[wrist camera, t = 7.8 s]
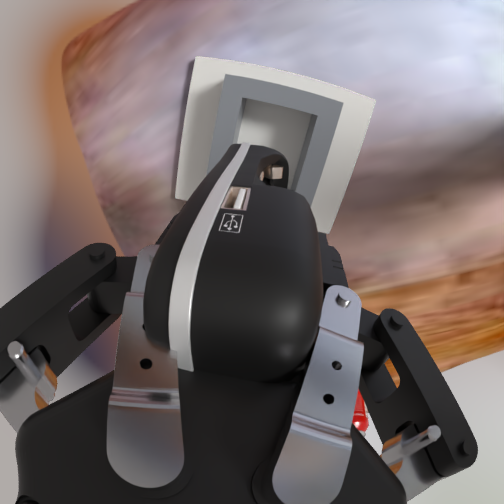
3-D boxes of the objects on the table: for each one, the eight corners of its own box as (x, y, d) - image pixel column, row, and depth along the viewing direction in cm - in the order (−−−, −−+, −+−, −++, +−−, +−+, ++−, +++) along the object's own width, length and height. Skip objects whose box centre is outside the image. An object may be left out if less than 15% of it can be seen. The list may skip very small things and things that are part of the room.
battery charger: (288, 256, 17) (285, 446, 8) (226, 250, 18) (176, 431, 8) (305, 144, 13) (358, 314, 4) (230, 137, 14) (117, 285, 4)
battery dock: (373, 99, 24) (390, 103, 19) (327, 229, 33) (334, 253, 28) (198, 56, 23) (182, 52, 19) (177, 194, 32) (162, 214, 28)
